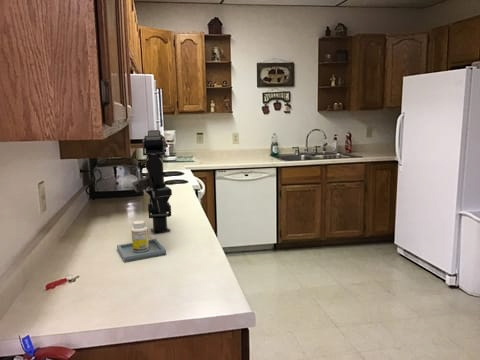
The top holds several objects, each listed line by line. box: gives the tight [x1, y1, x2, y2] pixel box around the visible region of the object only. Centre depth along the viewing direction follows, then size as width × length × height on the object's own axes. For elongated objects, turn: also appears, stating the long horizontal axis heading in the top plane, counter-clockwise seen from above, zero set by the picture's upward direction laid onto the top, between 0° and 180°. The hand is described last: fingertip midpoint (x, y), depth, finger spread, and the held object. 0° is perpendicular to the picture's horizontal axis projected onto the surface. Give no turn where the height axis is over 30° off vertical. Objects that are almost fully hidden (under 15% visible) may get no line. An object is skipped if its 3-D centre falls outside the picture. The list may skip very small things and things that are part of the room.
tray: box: [116, 238, 167, 263], centre depth 144 cm, size 14×14×2 cm
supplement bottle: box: [131, 220, 150, 252], centre depth 143 cm, size 6×6×10 cm
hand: (158, 211), depth 153 cm, fingers open, 9 cm apart
